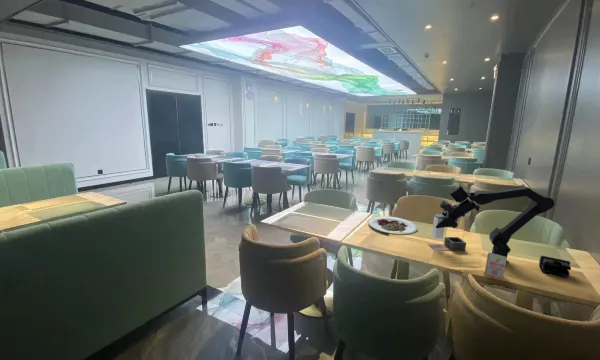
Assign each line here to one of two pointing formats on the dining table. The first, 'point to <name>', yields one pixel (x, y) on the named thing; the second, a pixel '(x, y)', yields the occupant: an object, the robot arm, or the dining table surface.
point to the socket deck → (450, 245)
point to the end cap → (554, 266)
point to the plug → (437, 231)
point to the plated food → (392, 225)
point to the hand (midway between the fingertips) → (435, 225)
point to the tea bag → (495, 265)
